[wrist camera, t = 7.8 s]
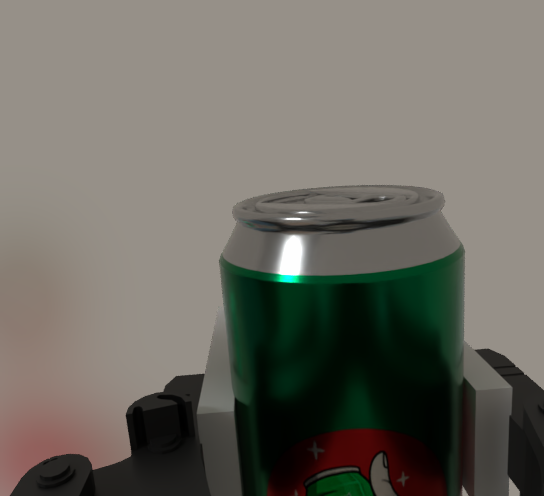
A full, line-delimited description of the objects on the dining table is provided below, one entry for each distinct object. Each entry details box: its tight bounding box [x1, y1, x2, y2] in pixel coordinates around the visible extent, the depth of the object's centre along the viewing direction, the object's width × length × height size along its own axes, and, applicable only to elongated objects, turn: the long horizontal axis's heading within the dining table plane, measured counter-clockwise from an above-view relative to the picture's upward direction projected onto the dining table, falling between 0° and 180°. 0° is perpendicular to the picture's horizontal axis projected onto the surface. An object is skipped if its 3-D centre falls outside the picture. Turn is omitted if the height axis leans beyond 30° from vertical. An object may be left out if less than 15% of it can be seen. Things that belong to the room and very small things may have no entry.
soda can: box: [219, 185, 465, 496], centre depth 12 cm, size 5×5×12 cm
